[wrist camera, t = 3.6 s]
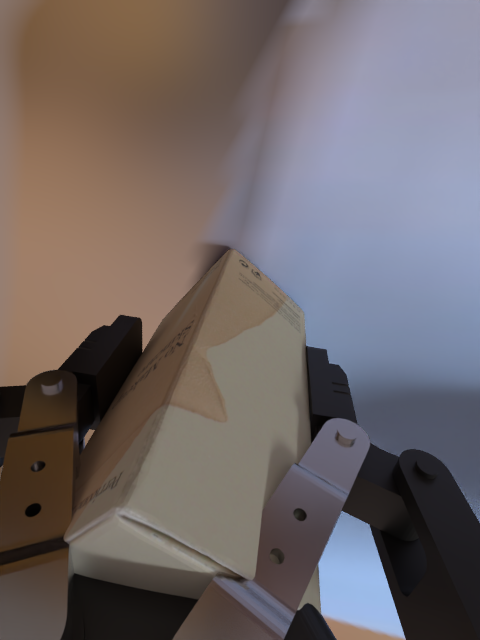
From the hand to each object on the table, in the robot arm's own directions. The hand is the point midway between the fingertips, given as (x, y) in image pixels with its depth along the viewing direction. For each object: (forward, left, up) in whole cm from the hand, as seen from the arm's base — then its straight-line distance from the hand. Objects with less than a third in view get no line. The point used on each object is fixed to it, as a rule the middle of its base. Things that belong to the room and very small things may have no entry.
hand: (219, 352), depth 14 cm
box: (0, 0, -3) cm, 3 cm away
